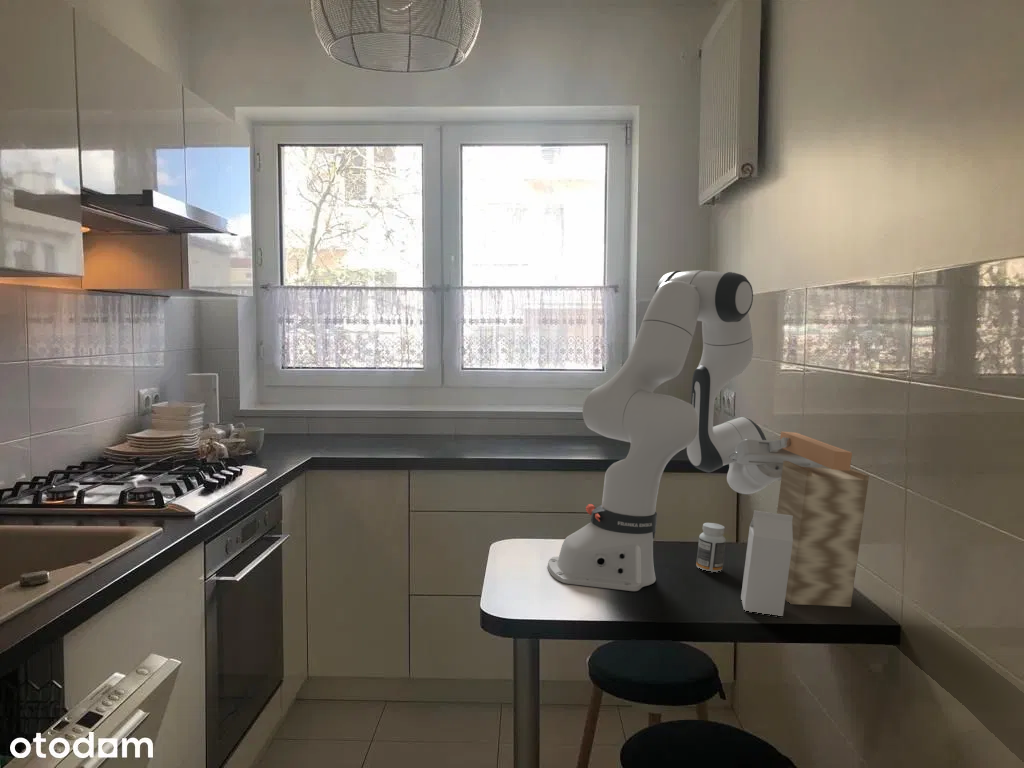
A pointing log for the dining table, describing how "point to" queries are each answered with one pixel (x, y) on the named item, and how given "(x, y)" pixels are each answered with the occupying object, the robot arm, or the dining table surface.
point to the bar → (818, 451)
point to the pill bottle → (711, 547)
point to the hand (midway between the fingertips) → (798, 441)
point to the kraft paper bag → (822, 532)
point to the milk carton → (767, 563)
